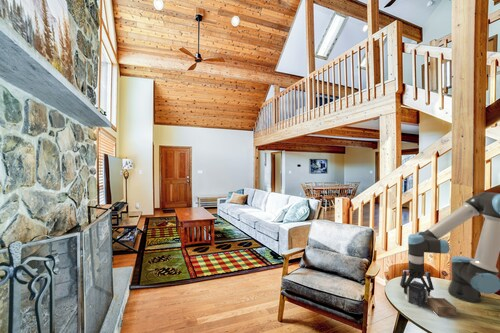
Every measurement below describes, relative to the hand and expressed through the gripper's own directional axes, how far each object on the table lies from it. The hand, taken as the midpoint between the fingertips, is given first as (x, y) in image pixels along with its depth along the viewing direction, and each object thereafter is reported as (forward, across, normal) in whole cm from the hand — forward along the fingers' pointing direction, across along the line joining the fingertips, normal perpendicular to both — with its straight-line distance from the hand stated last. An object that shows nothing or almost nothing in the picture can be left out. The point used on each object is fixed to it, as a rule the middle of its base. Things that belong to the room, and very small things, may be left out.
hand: (416, 300), depth 140 cm
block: (+1, -9, +7) cm, 11 cm away
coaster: (+1, -7, -6) cm, 9 cm away
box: (+1, 0, 0) cm, 1 cm away
